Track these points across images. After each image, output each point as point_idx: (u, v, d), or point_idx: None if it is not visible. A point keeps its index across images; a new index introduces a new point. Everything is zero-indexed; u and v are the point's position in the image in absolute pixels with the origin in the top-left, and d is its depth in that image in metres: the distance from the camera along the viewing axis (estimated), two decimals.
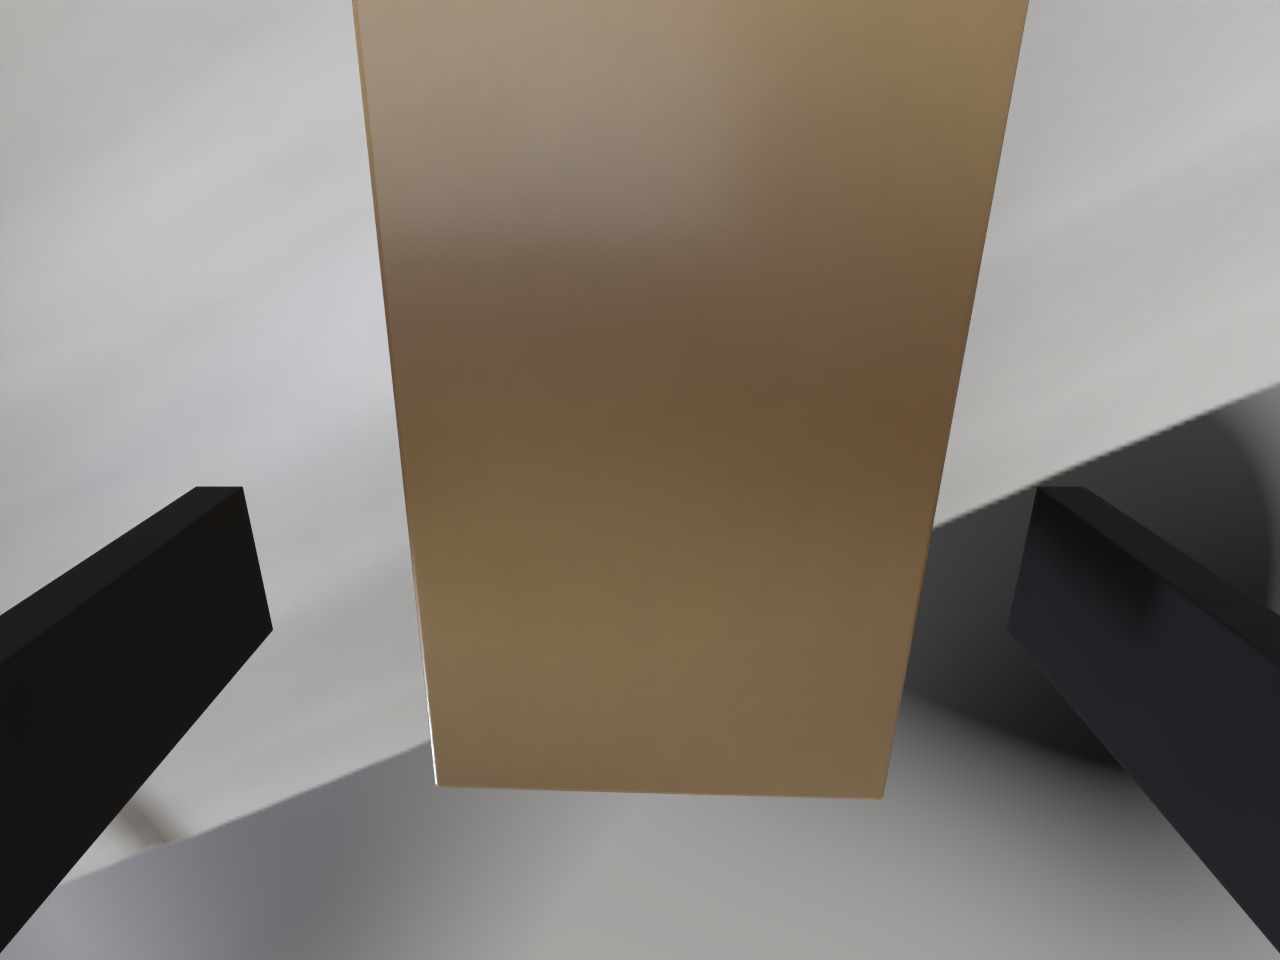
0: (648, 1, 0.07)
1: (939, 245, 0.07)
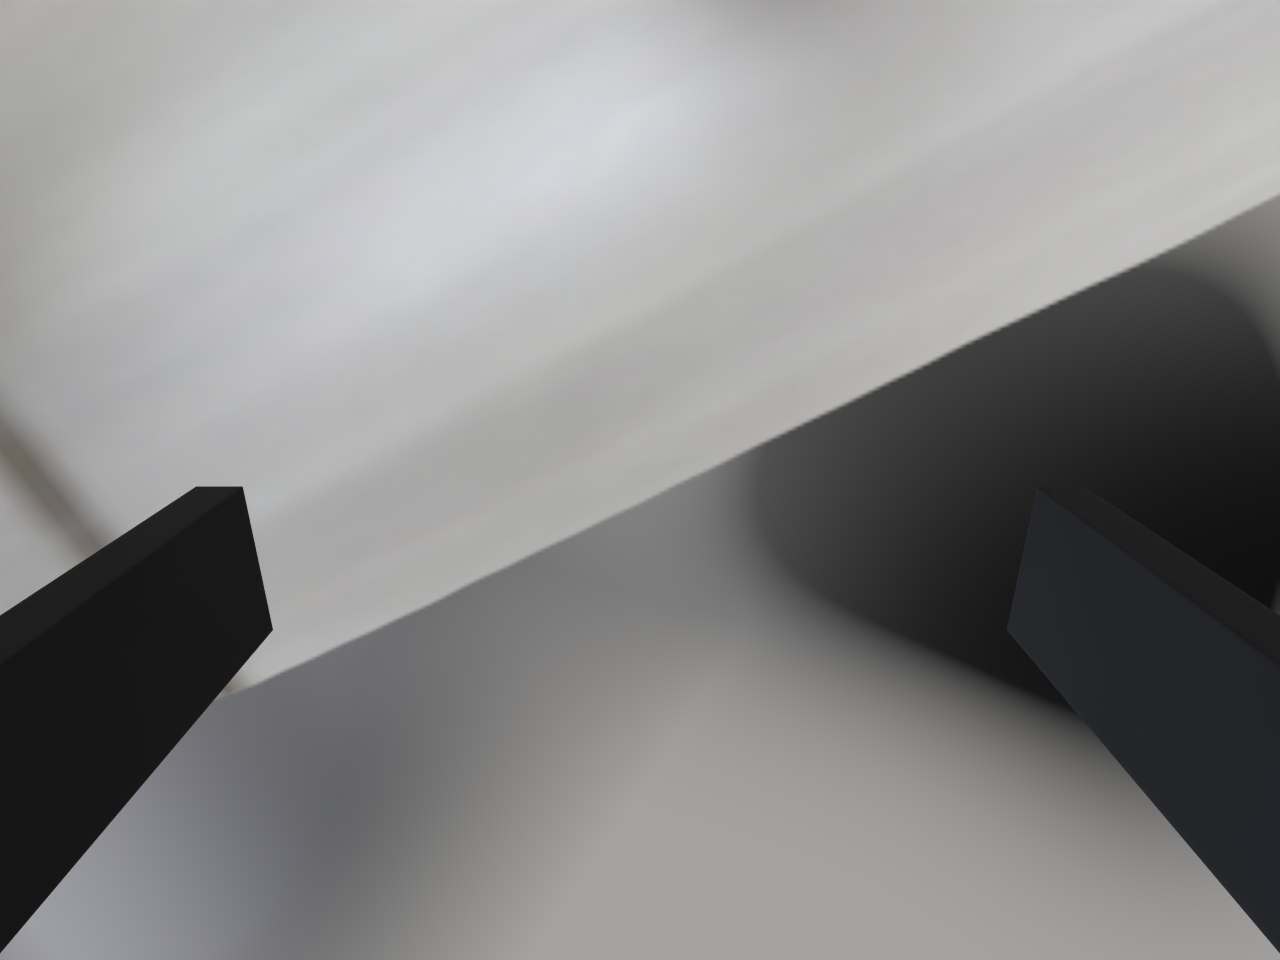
0: None
1: None
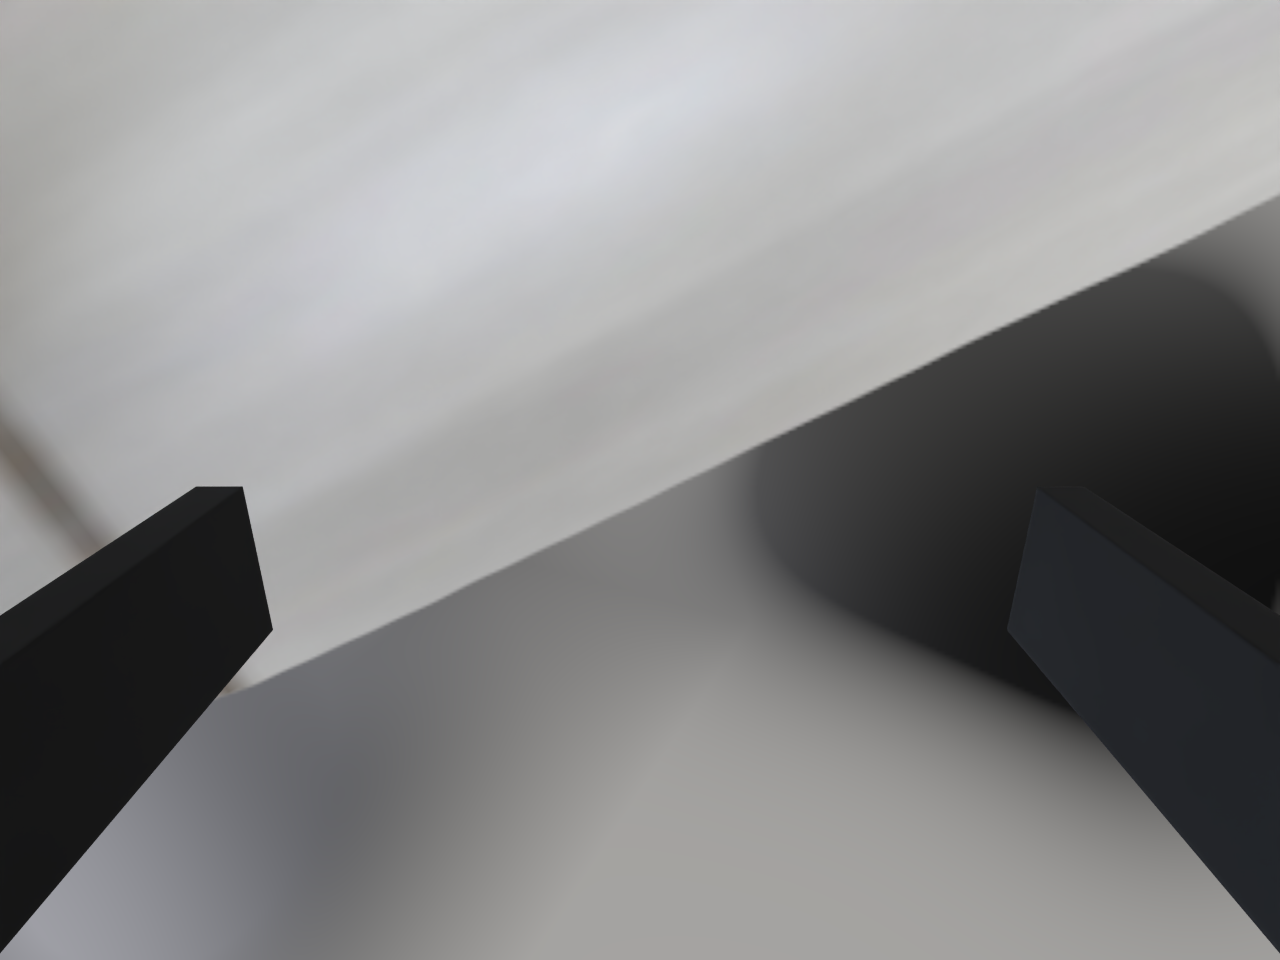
0: None
1: None
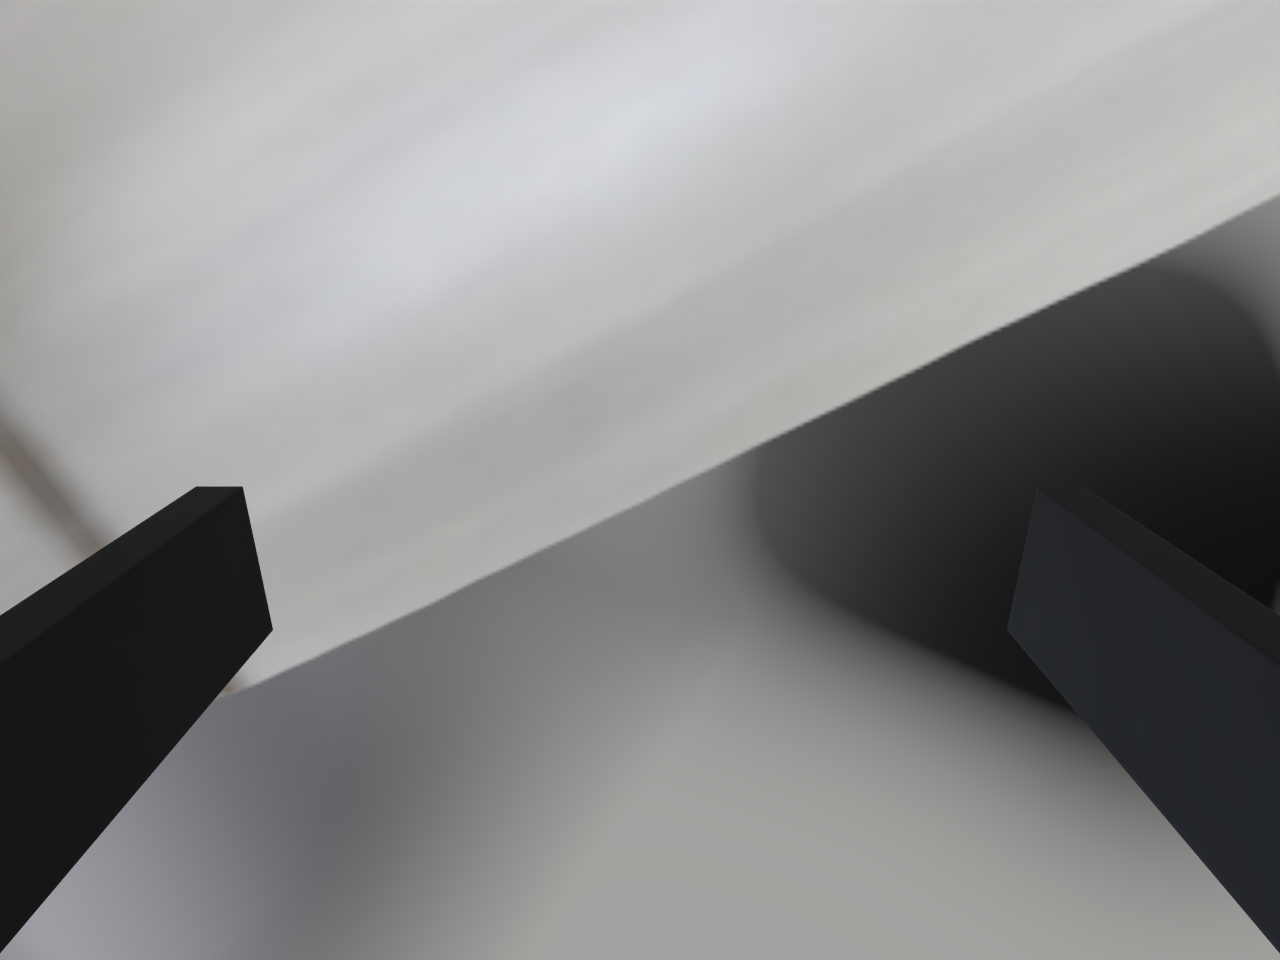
0: None
1: None
